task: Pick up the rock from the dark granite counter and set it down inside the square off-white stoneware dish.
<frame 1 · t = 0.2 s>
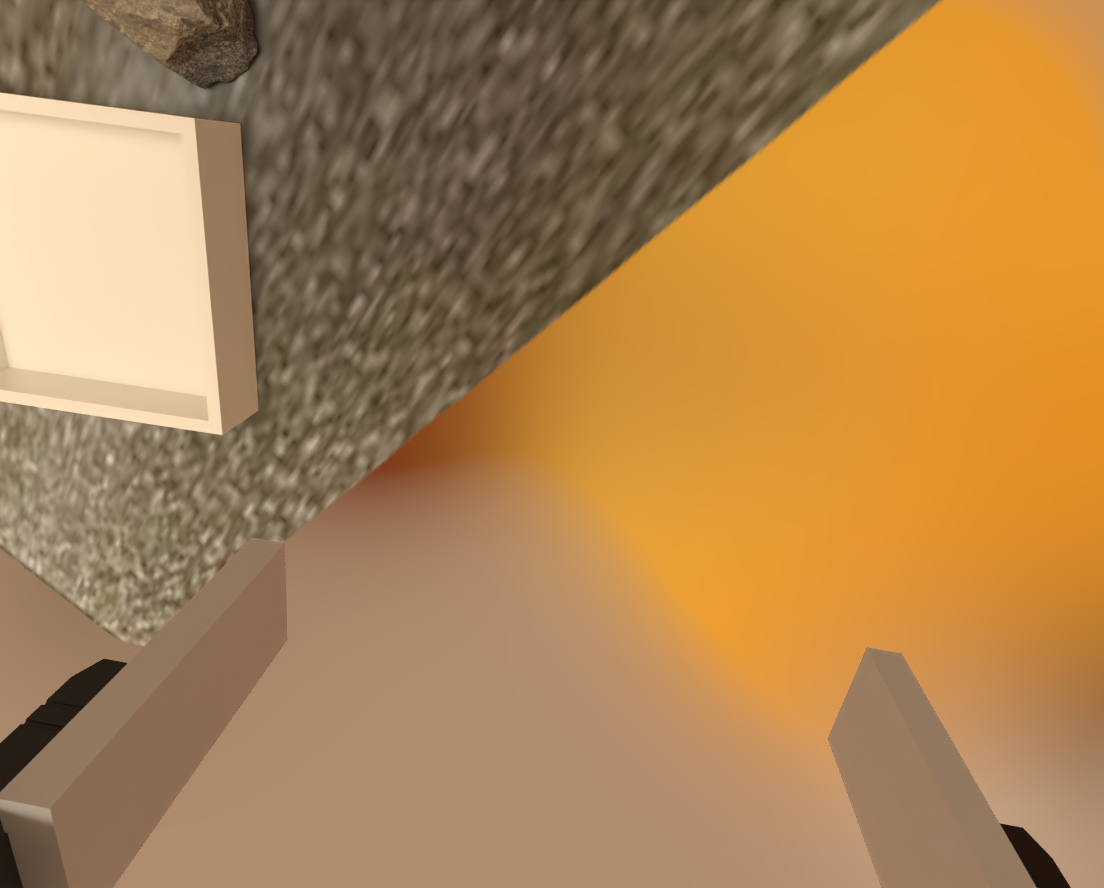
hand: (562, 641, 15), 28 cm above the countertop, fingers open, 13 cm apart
dish: (114, 260, 41), on the countertop
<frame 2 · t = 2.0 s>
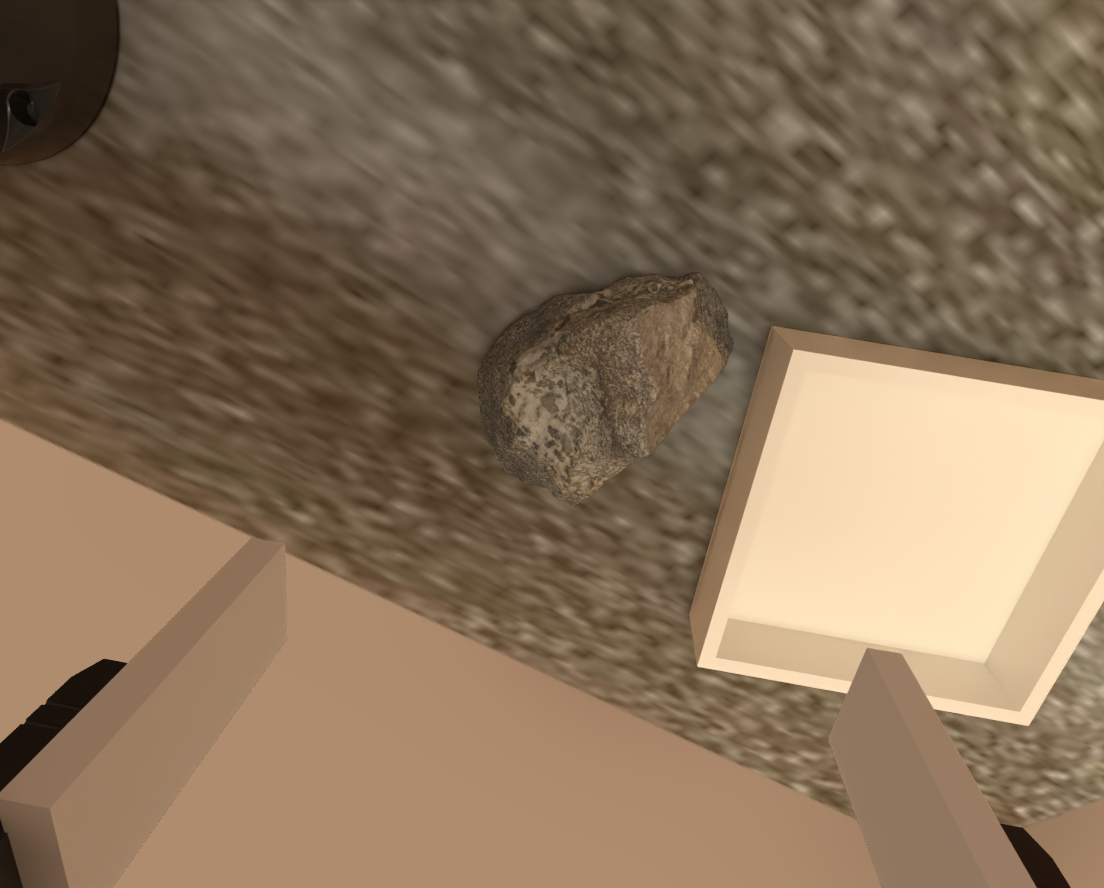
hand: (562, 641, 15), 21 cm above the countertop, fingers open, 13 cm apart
rock: (593, 364, 34), on the countertop
dish: (888, 512, 35), on the countertop
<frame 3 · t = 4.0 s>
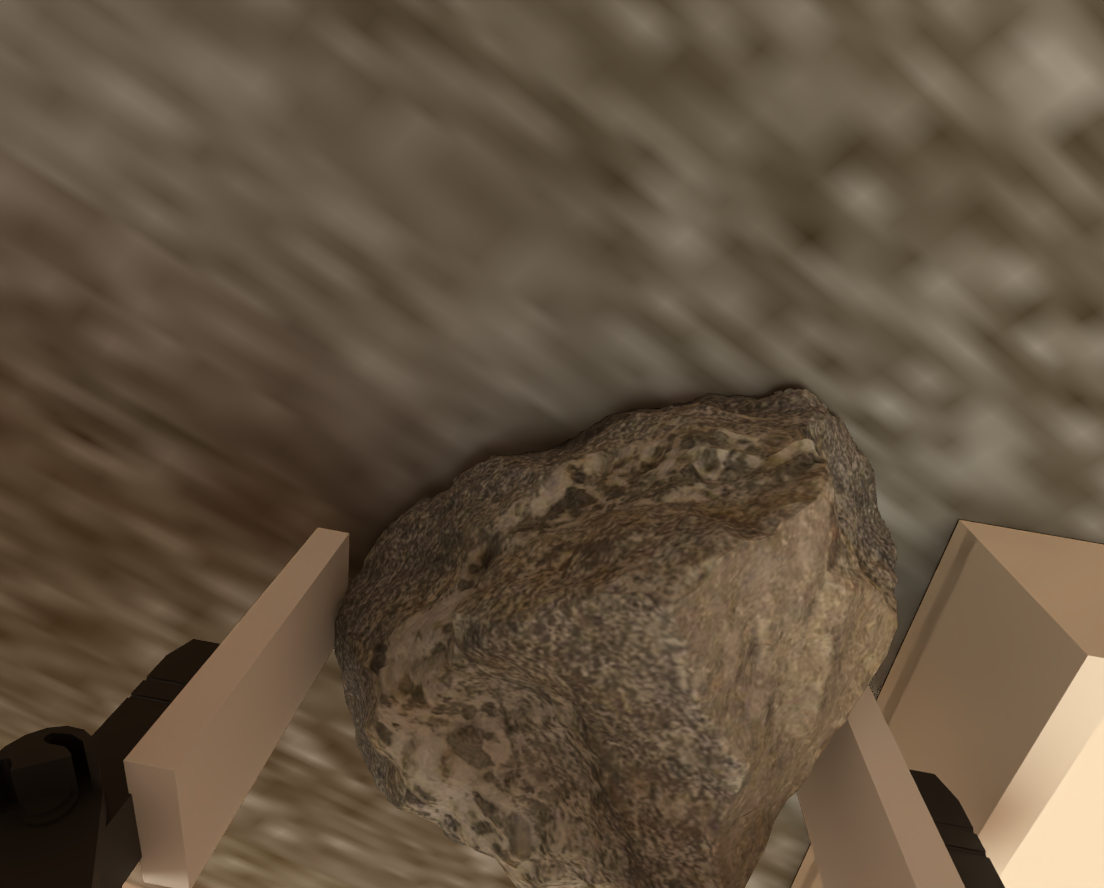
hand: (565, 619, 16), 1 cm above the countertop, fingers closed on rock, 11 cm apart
rock: (582, 570, 16), on the countertop, touching gripper
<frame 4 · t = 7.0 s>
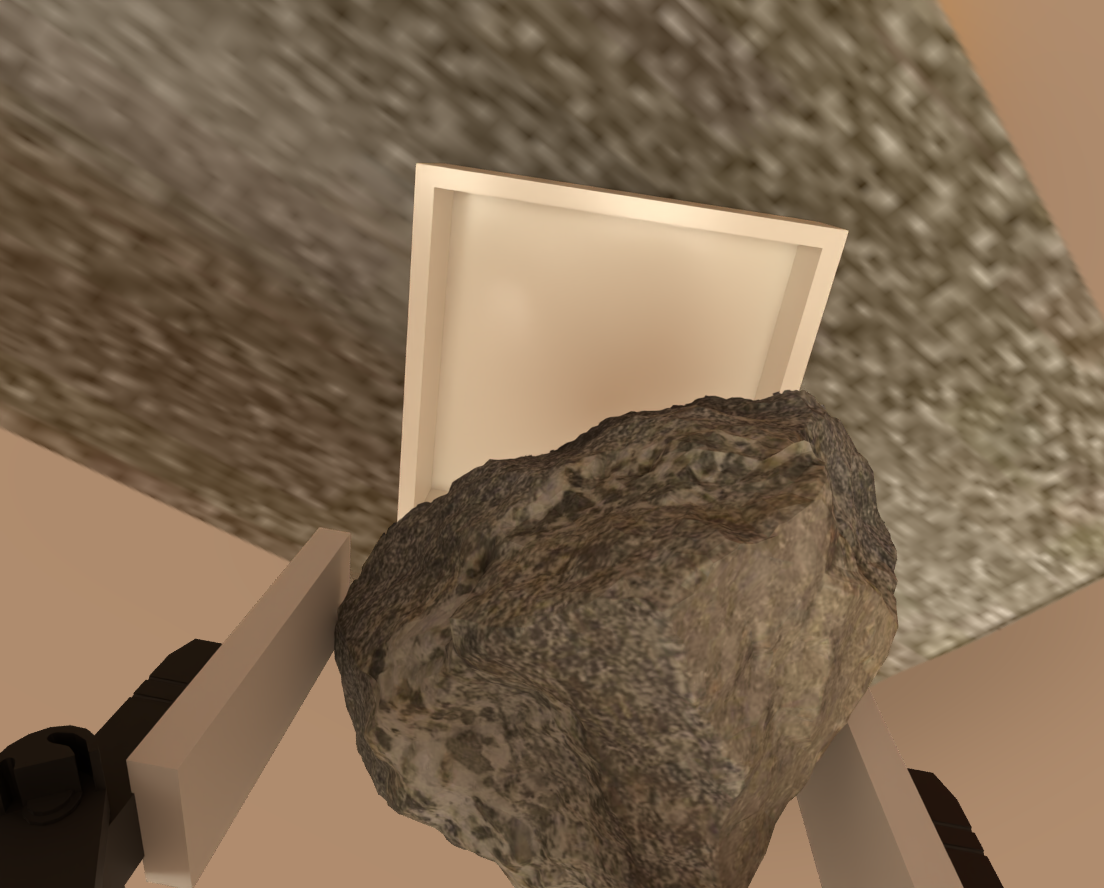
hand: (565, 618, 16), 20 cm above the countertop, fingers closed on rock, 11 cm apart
rock: (582, 573, 16), point 19 cm above the countertop, touching gripper
dish: (597, 372, 34), on the countertop
when the fingers open (4 cm above the countertop, at t = 10.1 s): rock drops 2 cm, resting on dish.
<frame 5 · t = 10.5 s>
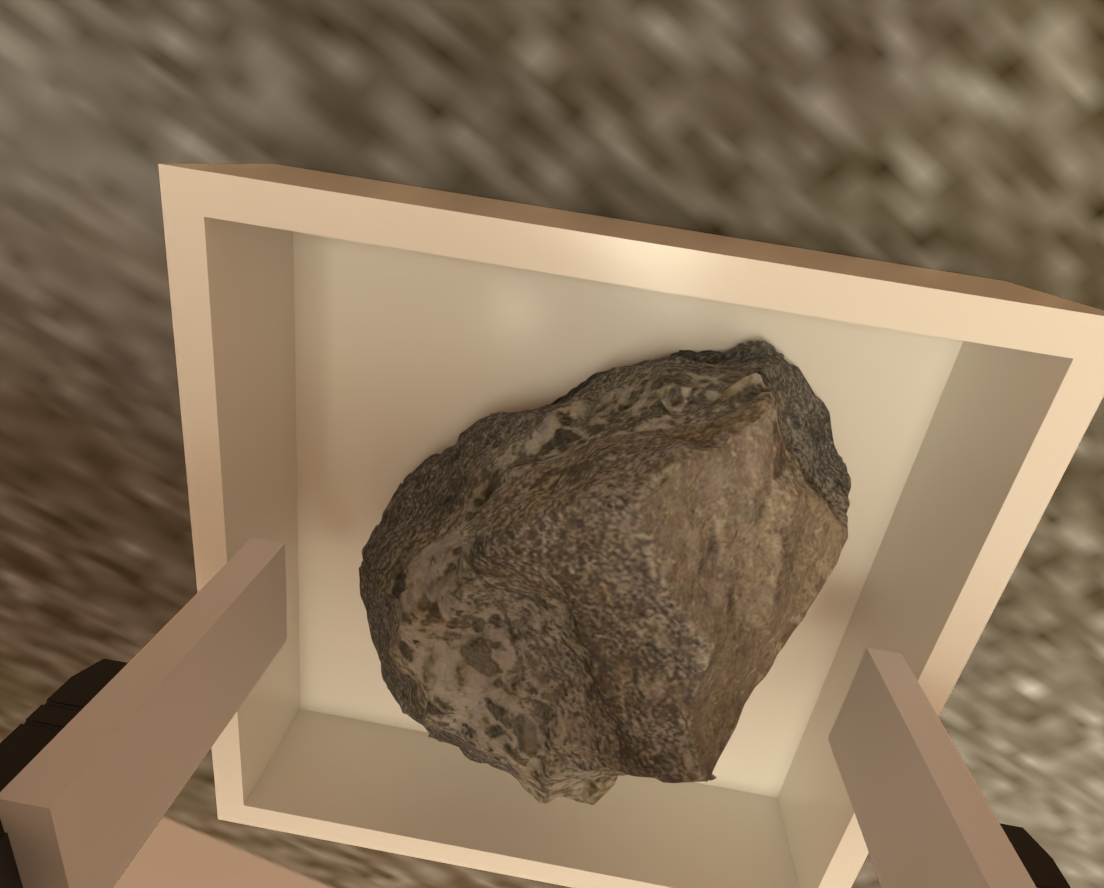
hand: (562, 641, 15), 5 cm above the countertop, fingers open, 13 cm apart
rock: (578, 518, 18), point 1 cm above the countertop, touching dish
dish: (575, 534, 19), on the countertop
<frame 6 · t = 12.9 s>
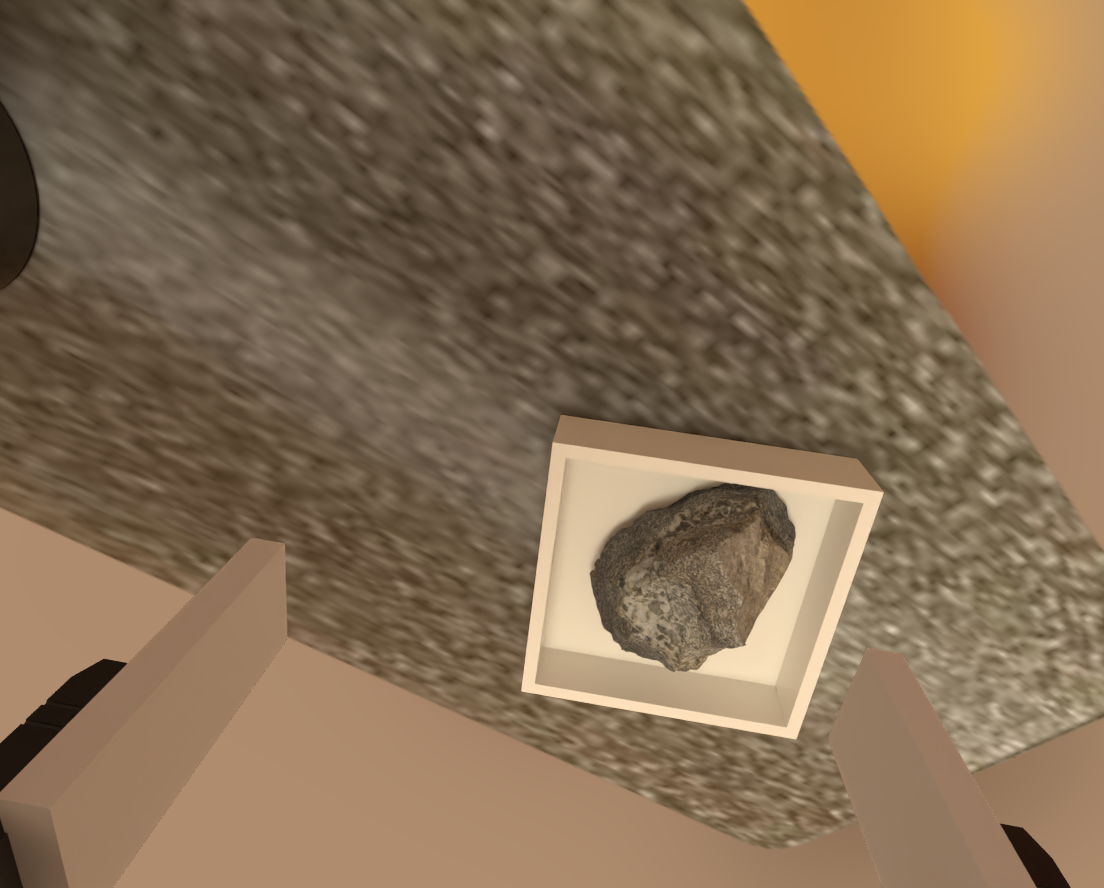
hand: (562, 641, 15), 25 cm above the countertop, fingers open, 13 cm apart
rock: (681, 551, 41), point 1 cm above the countertop, touching dish
dish: (678, 561, 42), on the countertop
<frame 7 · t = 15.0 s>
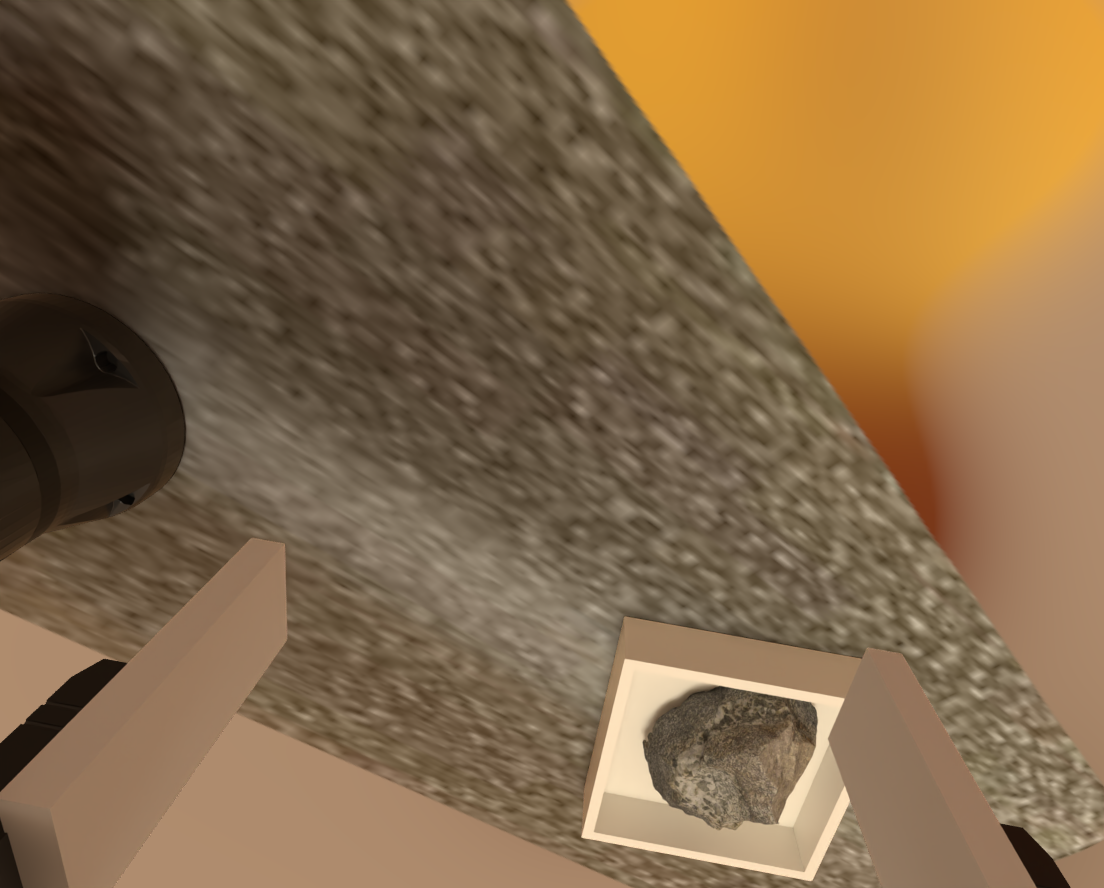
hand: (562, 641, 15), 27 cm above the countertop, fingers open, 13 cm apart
rock: (719, 722, 49), point 1 cm above the countertop, touching dish
dish: (716, 728, 50), on the countertop
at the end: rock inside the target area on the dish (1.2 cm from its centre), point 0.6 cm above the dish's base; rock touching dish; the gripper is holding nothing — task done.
